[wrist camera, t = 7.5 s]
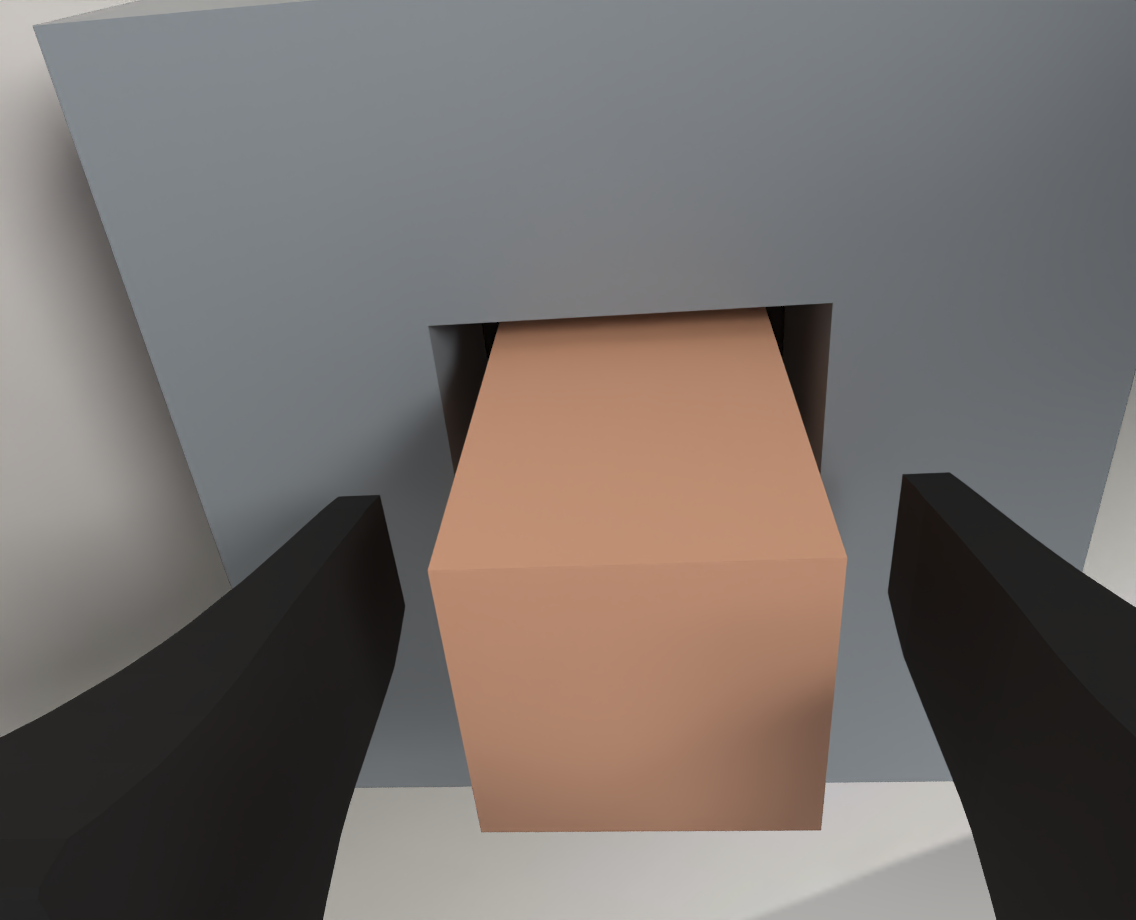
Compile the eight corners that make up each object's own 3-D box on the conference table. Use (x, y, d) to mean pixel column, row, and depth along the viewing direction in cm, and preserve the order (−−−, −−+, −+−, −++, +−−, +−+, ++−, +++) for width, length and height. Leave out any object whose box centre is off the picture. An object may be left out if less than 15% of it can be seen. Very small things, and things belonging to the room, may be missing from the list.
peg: (743, 241, 16) (846, 557, 9) (740, 437, 18) (820, 829, 11) (518, 255, 17) (427, 570, 9) (540, 445, 19) (481, 832, 11)
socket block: (1096, -93, 13) (1255, -85, 10) (961, 633, 21) (1027, 780, 17) (170, -8, 15) (32, 26, 11) (352, 648, 22) (302, 788, 19)
